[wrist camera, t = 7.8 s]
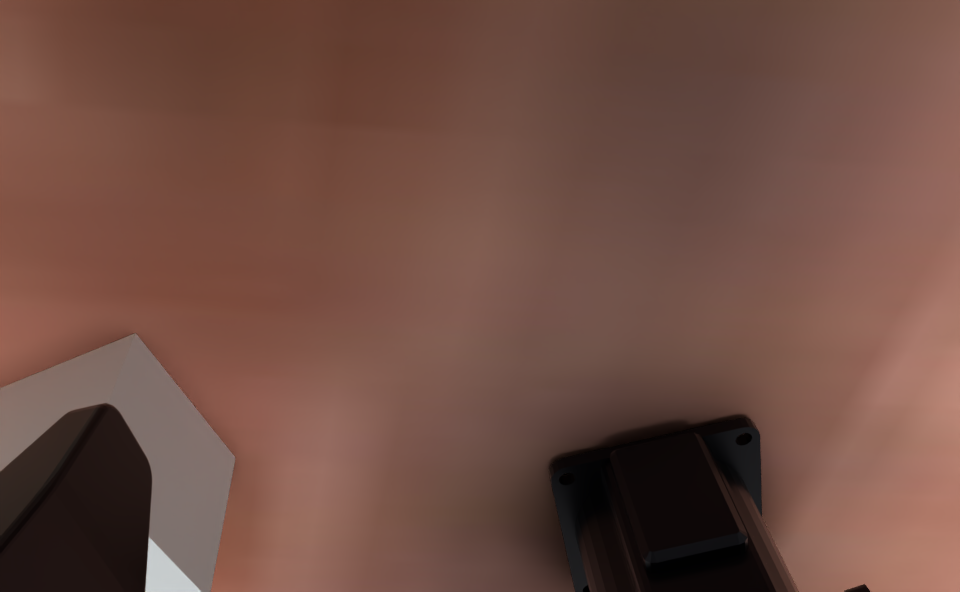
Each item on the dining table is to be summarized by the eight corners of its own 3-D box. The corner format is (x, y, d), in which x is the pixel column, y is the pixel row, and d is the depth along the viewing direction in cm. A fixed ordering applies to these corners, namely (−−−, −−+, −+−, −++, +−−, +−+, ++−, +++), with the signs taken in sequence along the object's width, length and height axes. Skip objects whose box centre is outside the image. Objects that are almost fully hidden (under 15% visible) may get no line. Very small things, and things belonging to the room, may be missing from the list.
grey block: (235, 456, 25) (209, 599, 21) (87, 512, 26) (33, 662, 21) (136, 331, 22) (82, 467, 18) (-27, 397, 23) (-116, 544, 19)
